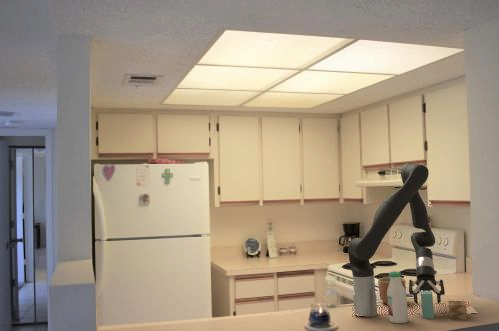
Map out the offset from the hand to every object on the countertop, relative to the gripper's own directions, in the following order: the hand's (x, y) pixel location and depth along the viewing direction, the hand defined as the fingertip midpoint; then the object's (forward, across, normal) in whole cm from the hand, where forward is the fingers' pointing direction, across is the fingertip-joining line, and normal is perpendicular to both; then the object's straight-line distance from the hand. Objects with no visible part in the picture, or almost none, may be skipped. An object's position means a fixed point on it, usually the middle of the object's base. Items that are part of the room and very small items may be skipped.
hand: (427, 302), depth 205 cm
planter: (-11, -16, +19) cm, 27 cm away
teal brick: (+4, 0, +4) cm, 6 cm away
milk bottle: (+9, -12, -1) cm, 15 cm away
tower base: (+4, +11, +4) cm, 13 cm away
